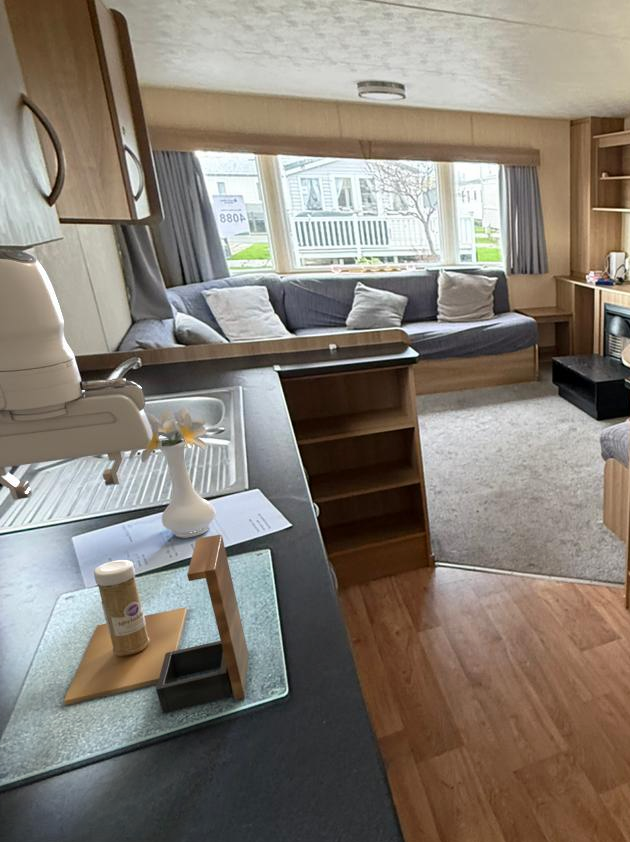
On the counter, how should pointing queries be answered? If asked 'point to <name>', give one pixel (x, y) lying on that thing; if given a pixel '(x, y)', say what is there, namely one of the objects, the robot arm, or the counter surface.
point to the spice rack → (210, 656)
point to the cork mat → (126, 659)
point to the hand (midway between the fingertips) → (69, 490)
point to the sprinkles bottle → (122, 607)
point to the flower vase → (180, 472)
